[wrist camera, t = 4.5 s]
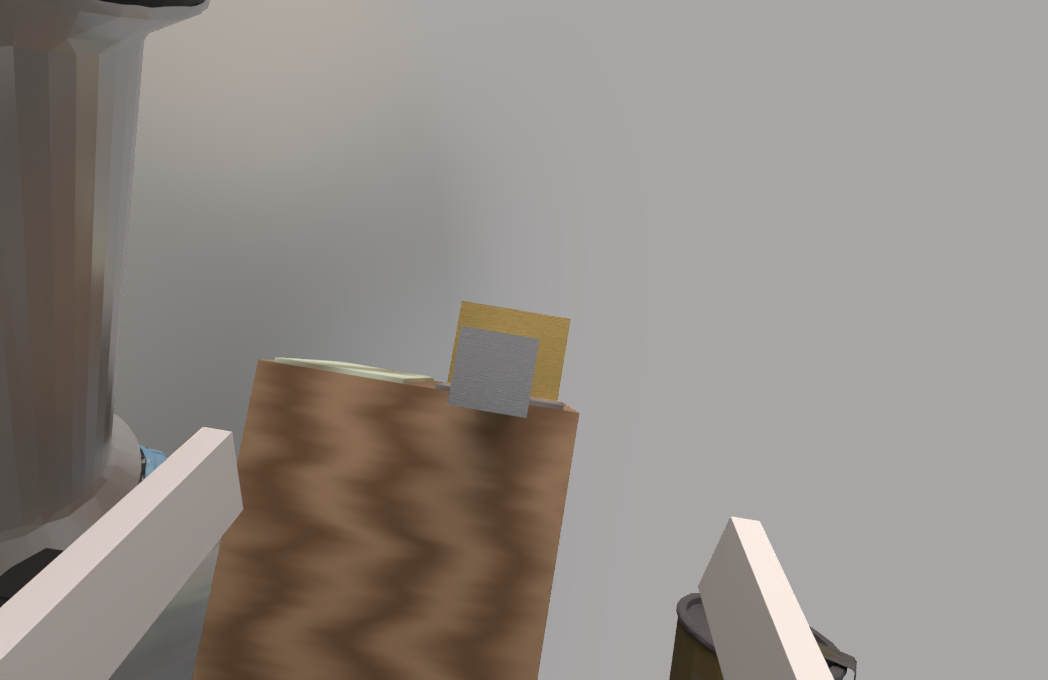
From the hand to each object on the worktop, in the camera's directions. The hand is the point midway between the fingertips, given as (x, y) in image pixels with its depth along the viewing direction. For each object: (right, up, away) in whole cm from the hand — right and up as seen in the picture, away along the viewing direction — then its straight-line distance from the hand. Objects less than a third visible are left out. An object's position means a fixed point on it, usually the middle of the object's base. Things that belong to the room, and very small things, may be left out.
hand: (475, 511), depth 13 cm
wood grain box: (-10, -28, +20) cm, 36 cm away
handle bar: (0, +1, +16) cm, 16 cm away
